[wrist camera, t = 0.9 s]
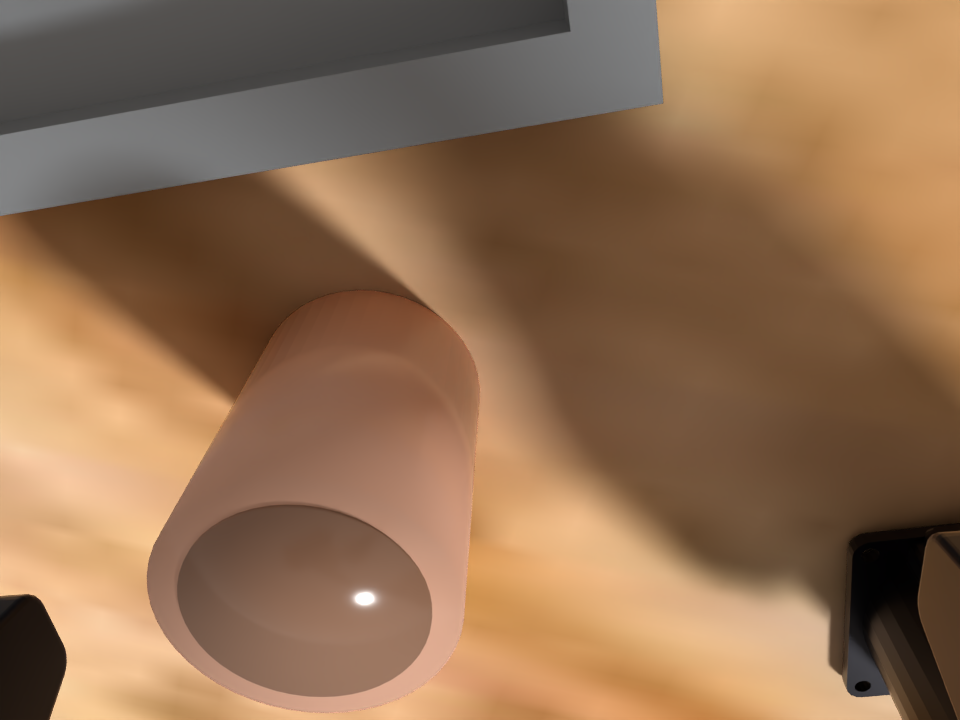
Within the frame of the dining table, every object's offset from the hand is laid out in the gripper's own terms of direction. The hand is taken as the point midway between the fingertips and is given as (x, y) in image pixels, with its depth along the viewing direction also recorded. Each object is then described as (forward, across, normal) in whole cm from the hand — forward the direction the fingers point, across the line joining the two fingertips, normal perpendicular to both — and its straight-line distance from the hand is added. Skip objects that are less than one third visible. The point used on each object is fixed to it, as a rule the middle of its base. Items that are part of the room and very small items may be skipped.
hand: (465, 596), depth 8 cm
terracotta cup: (+13, +4, +5) cm, 15 cm away
